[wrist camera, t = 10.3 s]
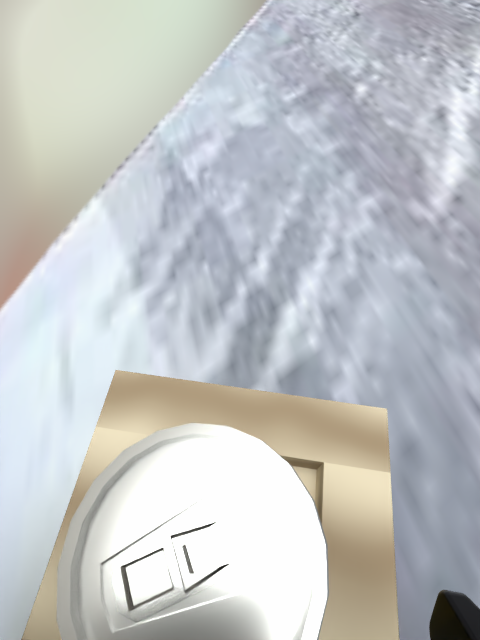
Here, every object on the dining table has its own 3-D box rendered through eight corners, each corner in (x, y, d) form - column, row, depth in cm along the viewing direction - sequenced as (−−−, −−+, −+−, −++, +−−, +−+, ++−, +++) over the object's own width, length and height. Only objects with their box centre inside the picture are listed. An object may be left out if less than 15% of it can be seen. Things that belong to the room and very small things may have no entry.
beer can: (186, 651, 15) (66, 864, 5) (152, 514, 18) (27, 470, 8) (303, 590, 16) (403, 664, 6) (254, 469, 19) (266, 377, 9)
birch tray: (375, 789, 14) (410, 854, 11) (32, 712, 15) (-19, 753, 12) (366, 427, 21) (386, 408, 18) (132, 393, 23) (115, 369, 20)
